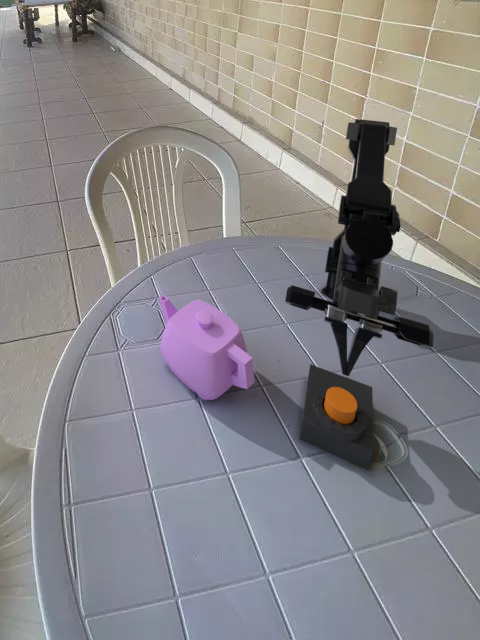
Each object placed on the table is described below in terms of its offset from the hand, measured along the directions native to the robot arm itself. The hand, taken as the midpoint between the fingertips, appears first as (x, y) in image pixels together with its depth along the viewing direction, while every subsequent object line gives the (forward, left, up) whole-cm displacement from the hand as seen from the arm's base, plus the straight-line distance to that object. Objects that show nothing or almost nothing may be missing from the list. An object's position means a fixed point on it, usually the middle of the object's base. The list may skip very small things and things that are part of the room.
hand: (345, 375), depth 62 cm
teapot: (-19, -9, -12) cm, 24 cm away
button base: (-1, +1, -12) cm, 12 cm away
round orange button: (+1, -1, -6) cm, 6 cm away
